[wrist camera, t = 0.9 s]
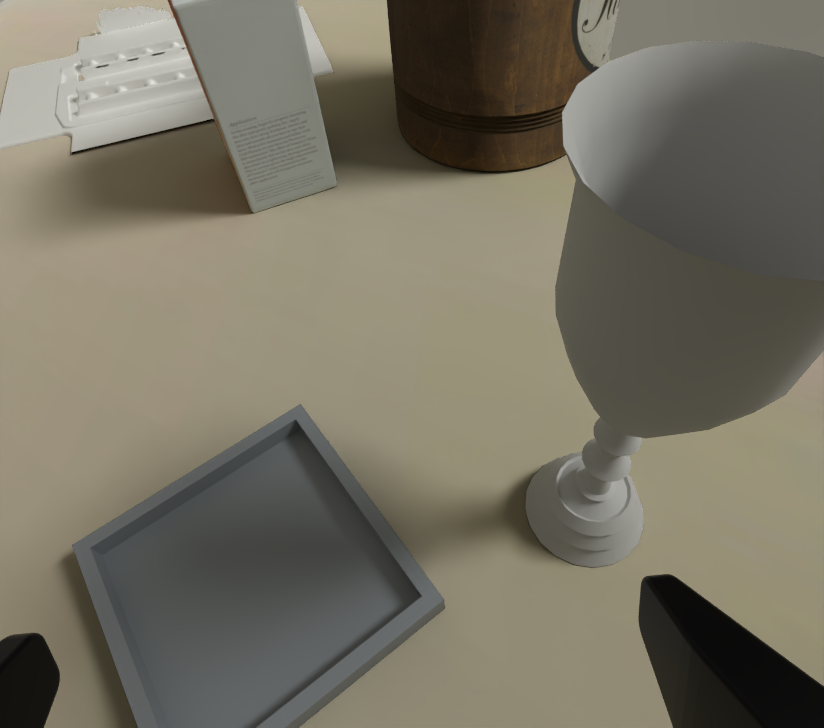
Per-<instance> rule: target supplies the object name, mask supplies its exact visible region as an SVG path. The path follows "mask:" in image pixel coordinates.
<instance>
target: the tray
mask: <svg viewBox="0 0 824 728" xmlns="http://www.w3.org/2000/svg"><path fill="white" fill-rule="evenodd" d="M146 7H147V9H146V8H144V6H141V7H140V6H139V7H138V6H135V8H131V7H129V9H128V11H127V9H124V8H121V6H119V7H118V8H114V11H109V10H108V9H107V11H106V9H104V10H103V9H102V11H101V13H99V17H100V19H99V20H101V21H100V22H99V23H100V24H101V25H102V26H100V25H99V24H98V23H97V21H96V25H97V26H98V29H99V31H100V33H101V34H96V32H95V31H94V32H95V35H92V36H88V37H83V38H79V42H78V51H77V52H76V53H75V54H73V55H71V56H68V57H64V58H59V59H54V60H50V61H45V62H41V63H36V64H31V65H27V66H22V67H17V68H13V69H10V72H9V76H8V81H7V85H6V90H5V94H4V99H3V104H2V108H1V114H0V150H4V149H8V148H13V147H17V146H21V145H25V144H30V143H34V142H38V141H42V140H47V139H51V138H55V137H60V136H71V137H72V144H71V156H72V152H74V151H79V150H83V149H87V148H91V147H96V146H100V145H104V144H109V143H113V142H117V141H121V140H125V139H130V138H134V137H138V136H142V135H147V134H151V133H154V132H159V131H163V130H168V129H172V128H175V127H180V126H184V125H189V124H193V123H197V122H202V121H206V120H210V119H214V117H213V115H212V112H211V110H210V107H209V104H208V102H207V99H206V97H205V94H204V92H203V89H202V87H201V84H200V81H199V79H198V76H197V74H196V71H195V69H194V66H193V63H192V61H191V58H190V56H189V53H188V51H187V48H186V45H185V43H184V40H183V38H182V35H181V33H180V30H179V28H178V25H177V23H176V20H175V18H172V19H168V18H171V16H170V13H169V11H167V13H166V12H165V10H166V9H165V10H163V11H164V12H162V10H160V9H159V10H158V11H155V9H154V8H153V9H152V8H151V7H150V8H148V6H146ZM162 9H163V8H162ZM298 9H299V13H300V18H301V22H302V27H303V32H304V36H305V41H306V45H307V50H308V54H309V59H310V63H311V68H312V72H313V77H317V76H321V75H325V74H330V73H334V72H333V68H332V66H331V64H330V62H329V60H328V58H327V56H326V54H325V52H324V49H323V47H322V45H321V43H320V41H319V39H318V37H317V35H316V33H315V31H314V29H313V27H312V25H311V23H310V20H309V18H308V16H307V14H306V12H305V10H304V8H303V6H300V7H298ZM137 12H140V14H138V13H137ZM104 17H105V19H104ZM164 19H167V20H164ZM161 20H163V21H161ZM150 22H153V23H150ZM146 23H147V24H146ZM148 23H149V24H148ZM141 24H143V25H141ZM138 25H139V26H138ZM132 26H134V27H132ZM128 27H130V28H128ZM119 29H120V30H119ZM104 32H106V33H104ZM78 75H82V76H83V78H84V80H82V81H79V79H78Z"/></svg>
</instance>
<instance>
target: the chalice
mask: <svg viewBox="0 0 824 728" xmlns="http://www.w3.org/2000/svg"><path fill="white" fill-rule="evenodd" d="M562 123H563V146H564V149H565V152H566V154H567V157H568V160H569V162H570V165H571V168H572V170H573V173H574V176H575V178H576V182H575V187H574V193H573V198H572V203H571V208H570V213H569V219H568V224H567V229H566V234H565V239H564V245H563V250H562V255H561V260H560V265H559V271H558V276H557V281H556V286H555V295H556V317H557V320H558V324H559V327H560V331H561V334H562V338H563V341H564V345H565V348H566V352H567V355H568V358H569V361H570V363H571V366H572V368H573V371H574V373H575V376H576V378H577V380H578V382H579V383H580V385H581V387H582V389H583V390H584V392H585V394H586V396H587V397H588V399H589V401H590V403H591V404H592V406H593V408H594V410H595V411H596V412H597V413H598V415H599V416H600V418H599V419H598V420H597V421H596V423H595V426H594V436H595V438H594V439H592V440H590V441H588V442H587V443H586V445H585V446H584V448H583V451H582V452H578V453H572V454H569V455H567V456H563V457H561V458H557V459H555V460H553V461H551V462H549V463H547V464H545V465H543V467H542V468H541V469H540V470H539V471H538V472H537V473H536V474H535V475H534V476H533V477H532V479H531V482H530V484H529V486H528V489H527V491H526V503H525V510H526V514H527V517H528V521H529V525H530V527H531V529H532V530H533V532H534V533H535V535H536V537H537V538H538V540H539V541H540V543H541V544H543V545H544V546H545V547H546V548H547V549H548V550H549V551H551V552H552V553H553V554H554V555H555V556H557V557H559V558H561V559H563V560H565V561H567V562H569V563H572V564H574V565H580V566H587V567H593V568H594V567H600V566H606V565H612V564H614V563H616V562H618V561H619V560H621V559H623V558H625V557H626V556H628V555H629V554H630V552H631V551H632V550H633V549H634V547H635V546H636V545H637V544H638V542H639V540H640V536H641V533H642V530H643V526H644V520H643V507H642V505H641V502H640V500H639V497H638V494H637V491H636V489H635V486H634V484H633V481H632V479H631V477H630V476H629V475H628V473H629V471H630V467H631V459H630V456H629V455H631V454H633V453H635V452H636V451H637V450H638V449H639V448H640V446H641V442H642V438H652V437H660V436H668V435H675V434H683V433H689V432H696V431H703V430H709V429H712V428H714V427H717V426H719V425H722V424H725V423H727V422H730V421H733V420H735V419H738V418H741V417H743V416H746V415H749V414H751V413H754V412H756V411H757V410H759V409H761V408H763V407H765V406H766V405H768V404H770V403H772V402H774V401H775V400H777V399H779V398H781V397H783V396H784V395H786V394H787V392H788V391H789V390H790V389H791V388H792V387H793V385H794V384H795V383H796V382H797V381H798V380H799V378H800V377H801V376H802V375H803V374H804V373H805V371H806V370H807V369H808V368H809V367H810V366H811V364H812V363H813V362H814V361H815V360H816V359H817V357H818V356H819V355H820V354H821V353H822V352H823V350H824V57H821V56H818V55H815V54H812V53H809V52H804V51H799V50H793V49H787V48H781V47H775V46H770V45H763V44H758V43H752V42H722V41H721V42H720V41H692V42H684V43H677V44H670V45H662V46H655V47H648V48H645V49H642V50H640V51H637V52H634V53H631V54H628V55H626V56H623V57H620V58H617V59H614V60H612V61H609V62H607V63H605V64H604V65H603V66H601V67H600V68H599V69H597V70H596V71H594V72H593V73H592V74H590V75H589V76H588V77H586V78H585V79H584V80H582V81H581V82H580V83H578V84H577V86H576V88H575V90H574V92H573V93H572V95H571V97H570V99H569V101H568V103H567V104H566V106H565V108H564V110H563V112H562Z"/></svg>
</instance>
